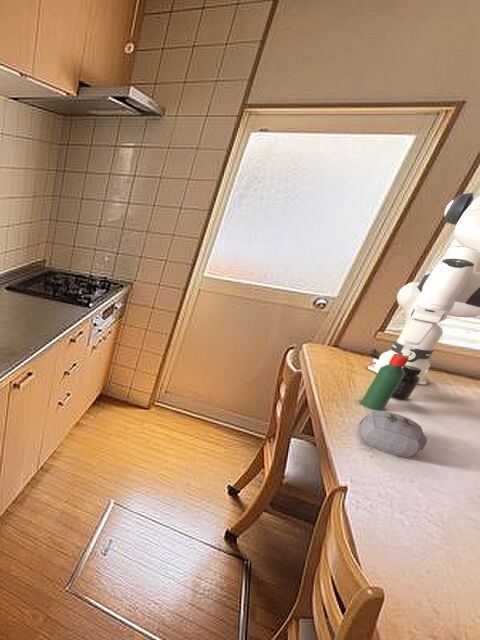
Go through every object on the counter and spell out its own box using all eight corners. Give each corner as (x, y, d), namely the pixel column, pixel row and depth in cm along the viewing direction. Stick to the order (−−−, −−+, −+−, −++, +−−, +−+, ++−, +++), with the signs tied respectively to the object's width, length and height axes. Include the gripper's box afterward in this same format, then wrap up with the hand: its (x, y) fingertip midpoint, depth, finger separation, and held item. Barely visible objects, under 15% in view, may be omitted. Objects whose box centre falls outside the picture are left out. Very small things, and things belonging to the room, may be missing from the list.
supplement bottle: (412, 401, 157) (430, 373, 151) (391, 398, 158) (409, 370, 152) (399, 393, 163) (416, 365, 157) (379, 390, 164) (396, 362, 158)
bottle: (362, 399, 156) (389, 352, 147) (384, 406, 152) (413, 358, 143) (359, 404, 152) (387, 356, 143) (382, 412, 148) (412, 363, 139)
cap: (388, 364, 144) (393, 355, 143) (389, 361, 147) (394, 352, 145) (403, 368, 142) (408, 359, 140) (404, 365, 144) (409, 356, 143)
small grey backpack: (419, 464, 119) (415, 438, 133) (436, 440, 115) (431, 415, 129) (352, 441, 128) (355, 418, 142) (366, 418, 124) (368, 397, 138)
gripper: (417, 303, 143) (395, 341, 149) (413, 313, 130) (389, 354, 137) (443, 308, 139) (419, 347, 146) (441, 319, 126) (415, 361, 133)
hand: (404, 350), depth 141 cm, fingers open, 5 cm apart
